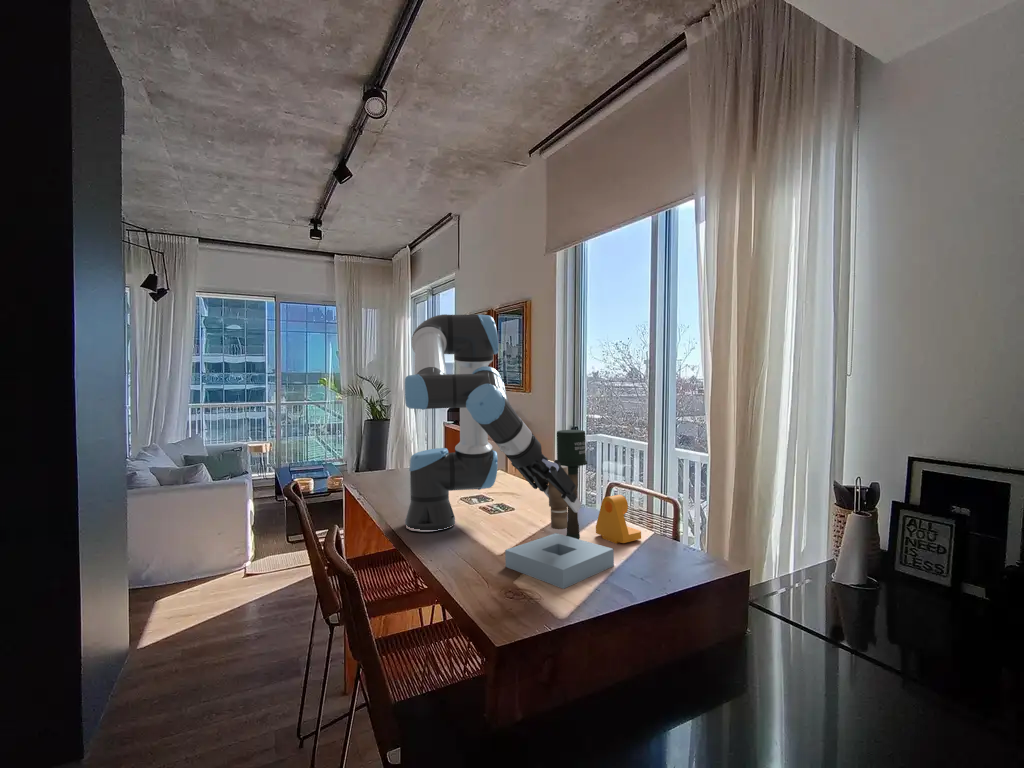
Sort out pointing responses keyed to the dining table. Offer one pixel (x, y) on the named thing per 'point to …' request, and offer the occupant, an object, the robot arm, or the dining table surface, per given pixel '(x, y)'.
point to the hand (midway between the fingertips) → (569, 505)
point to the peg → (558, 506)
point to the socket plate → (559, 559)
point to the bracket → (615, 521)
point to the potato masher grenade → (572, 467)
